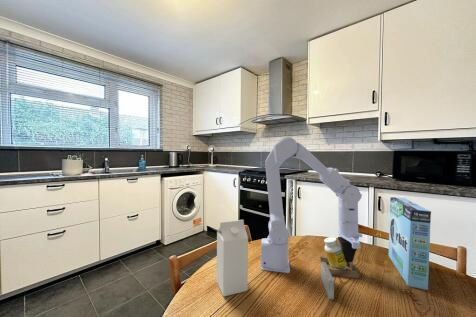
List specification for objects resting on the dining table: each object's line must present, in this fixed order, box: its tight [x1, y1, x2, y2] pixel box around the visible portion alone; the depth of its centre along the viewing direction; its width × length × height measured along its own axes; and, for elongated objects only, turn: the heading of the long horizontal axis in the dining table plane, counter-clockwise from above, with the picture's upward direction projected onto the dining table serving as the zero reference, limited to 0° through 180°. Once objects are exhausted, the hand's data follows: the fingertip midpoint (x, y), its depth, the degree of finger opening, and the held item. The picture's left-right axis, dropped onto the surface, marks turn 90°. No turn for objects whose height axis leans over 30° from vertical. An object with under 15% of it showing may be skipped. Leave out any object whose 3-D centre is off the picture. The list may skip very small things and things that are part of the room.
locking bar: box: [320, 262, 335, 301], centre depth 57 cm, size 1×10×5 cm, turn 168°
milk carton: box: [216, 219, 249, 297], centre depth 58 cm, size 7×7×19 cm
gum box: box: [388, 197, 432, 291], centre depth 66 cm, size 20×5×23 cm, turn 157°
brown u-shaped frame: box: [319, 255, 361, 280], centre depth 67 cm, size 10×8×2 cm
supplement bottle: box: [323, 236, 348, 270], centre depth 67 cm, size 5×5×10 cm
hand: (348, 260), depth 66 cm, fingers closed, pressing on supplement bottle
